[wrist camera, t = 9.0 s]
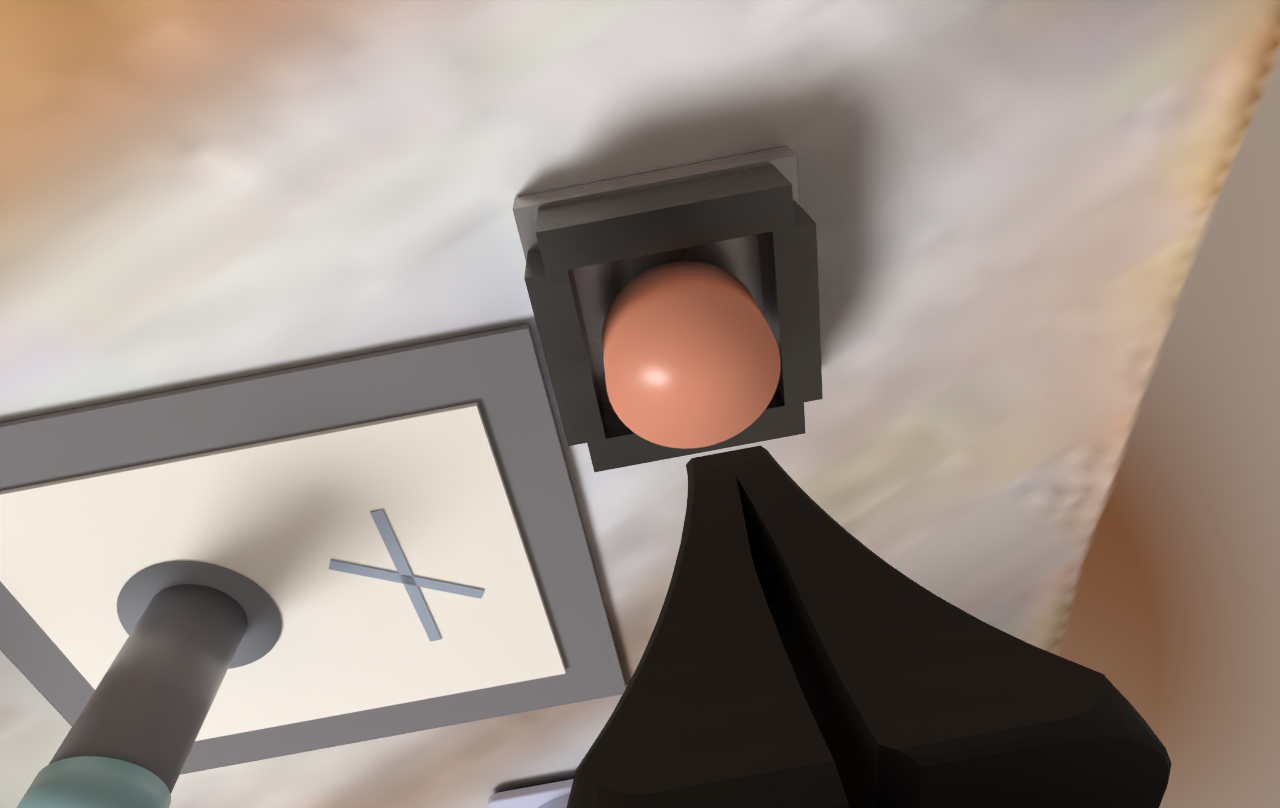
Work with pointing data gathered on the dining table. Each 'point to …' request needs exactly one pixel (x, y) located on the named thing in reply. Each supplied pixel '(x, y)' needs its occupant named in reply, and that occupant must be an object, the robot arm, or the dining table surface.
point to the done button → (688, 355)
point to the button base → (658, 234)
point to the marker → (146, 706)
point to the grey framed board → (316, 545)
